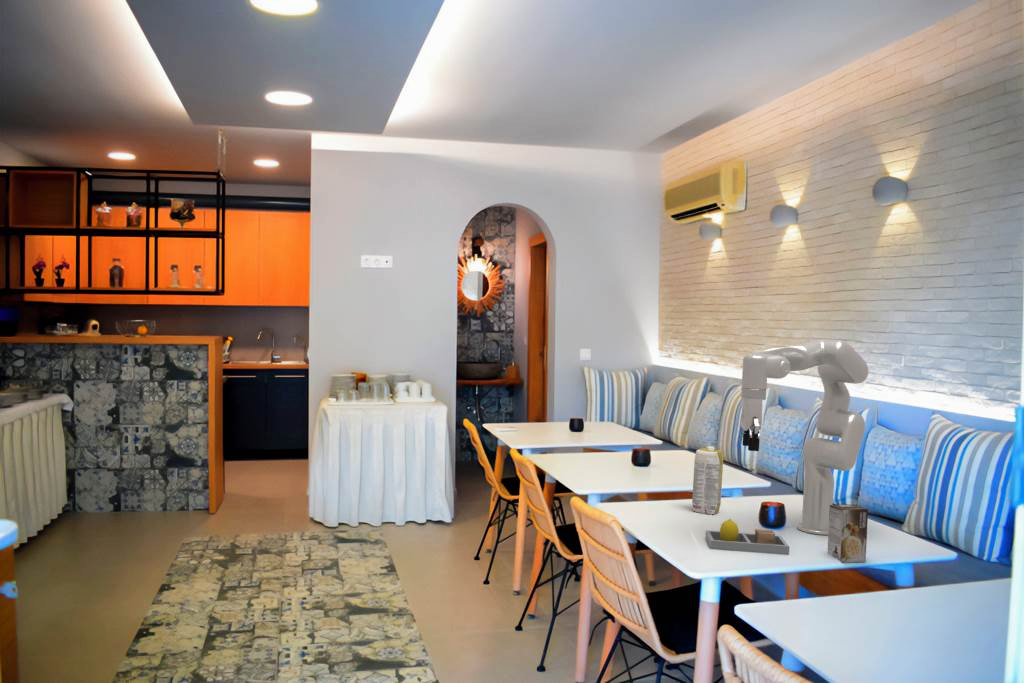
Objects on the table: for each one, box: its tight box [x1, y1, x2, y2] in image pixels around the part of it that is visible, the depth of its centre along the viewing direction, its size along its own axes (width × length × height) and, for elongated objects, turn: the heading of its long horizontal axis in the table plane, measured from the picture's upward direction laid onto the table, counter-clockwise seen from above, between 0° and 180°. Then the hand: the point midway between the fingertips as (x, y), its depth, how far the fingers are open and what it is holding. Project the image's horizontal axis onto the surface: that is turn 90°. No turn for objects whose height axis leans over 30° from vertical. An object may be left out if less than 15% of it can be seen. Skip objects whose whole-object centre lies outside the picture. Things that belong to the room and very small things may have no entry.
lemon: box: [719, 518, 739, 542], centre depth 251 cm, size 6×6×8 cm
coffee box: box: [827, 504, 869, 564], centre depth 245 cm, size 9×6×16 cm
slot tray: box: [704, 529, 790, 556], centre depth 251 cm, size 12×23×4 cm, turn 84°
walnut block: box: [754, 528, 776, 545], centre depth 250 cm, size 5×5×5 cm
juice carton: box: [691, 445, 724, 515], centre depth 298 cm, size 9×8×24 cm
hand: (750, 448), depth 257 cm, fingers open, 9 cm apart
